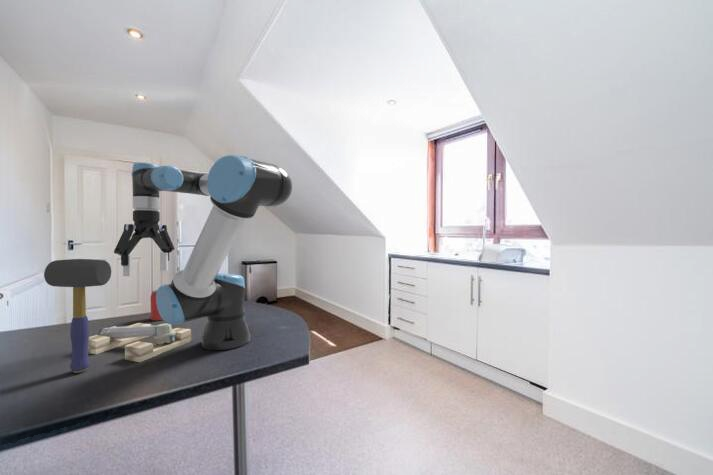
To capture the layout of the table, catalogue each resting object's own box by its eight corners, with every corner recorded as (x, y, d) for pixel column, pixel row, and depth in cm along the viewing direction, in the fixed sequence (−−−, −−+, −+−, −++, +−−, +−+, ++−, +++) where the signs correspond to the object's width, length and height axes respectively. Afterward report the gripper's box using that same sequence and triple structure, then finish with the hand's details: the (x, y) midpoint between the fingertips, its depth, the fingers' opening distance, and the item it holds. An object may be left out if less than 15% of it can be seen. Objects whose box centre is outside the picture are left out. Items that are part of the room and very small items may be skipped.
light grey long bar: (109, 325, 105) (177, 318, 102) (112, 345, 105) (180, 338, 102) (95, 330, 100) (166, 322, 97) (97, 350, 100) (168, 343, 97)
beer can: (169, 319, 132) (169, 291, 131) (150, 322, 128) (150, 292, 128) (168, 316, 137) (168, 288, 137) (150, 318, 133) (150, 290, 133)
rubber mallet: (42, 379, 79) (40, 260, 78) (65, 366, 86) (64, 257, 85) (96, 376, 80) (95, 260, 80) (114, 364, 88) (113, 257, 87)
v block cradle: (191, 341, 106) (191, 329, 106) (140, 362, 89) (140, 348, 89) (138, 333, 113) (138, 322, 113) (82, 351, 96) (82, 339, 96)
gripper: (168, 212, 118) (168, 268, 118) (98, 207, 94) (99, 278, 94) (184, 212, 116) (185, 269, 116) (118, 207, 92) (118, 279, 92)
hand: (147, 273), depth 105 cm, fingers open, 13 cm apart
